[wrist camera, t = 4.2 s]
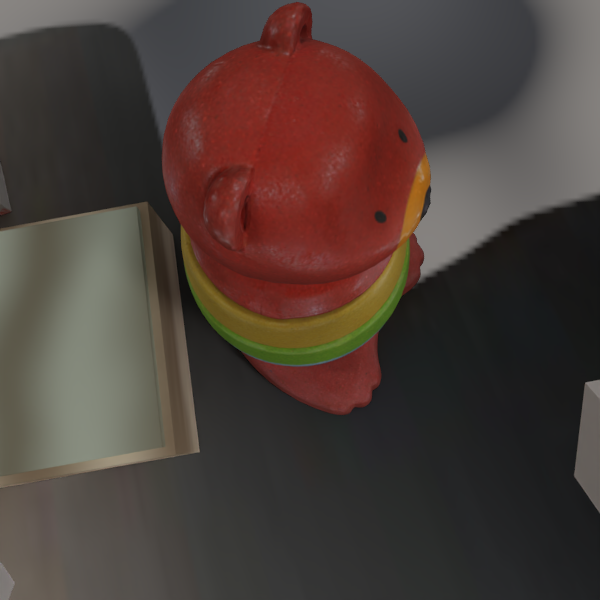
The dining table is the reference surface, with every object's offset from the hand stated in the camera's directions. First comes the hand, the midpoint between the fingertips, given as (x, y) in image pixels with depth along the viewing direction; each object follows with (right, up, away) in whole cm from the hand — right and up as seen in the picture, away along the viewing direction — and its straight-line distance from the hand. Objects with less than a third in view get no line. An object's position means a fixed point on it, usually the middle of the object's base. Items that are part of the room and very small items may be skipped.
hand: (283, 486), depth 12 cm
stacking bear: (+1, +4, +18) cm, 19 cm away
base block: (-12, +1, +18) cm, 21 cm away
